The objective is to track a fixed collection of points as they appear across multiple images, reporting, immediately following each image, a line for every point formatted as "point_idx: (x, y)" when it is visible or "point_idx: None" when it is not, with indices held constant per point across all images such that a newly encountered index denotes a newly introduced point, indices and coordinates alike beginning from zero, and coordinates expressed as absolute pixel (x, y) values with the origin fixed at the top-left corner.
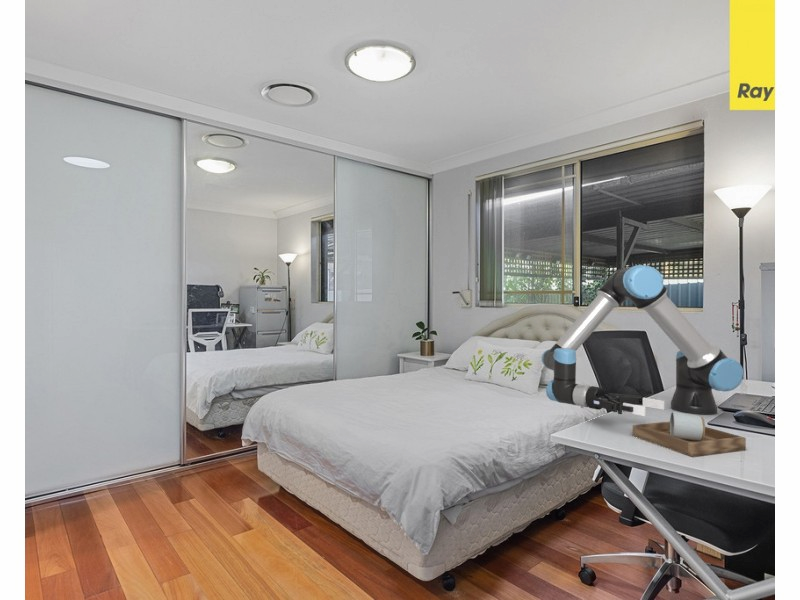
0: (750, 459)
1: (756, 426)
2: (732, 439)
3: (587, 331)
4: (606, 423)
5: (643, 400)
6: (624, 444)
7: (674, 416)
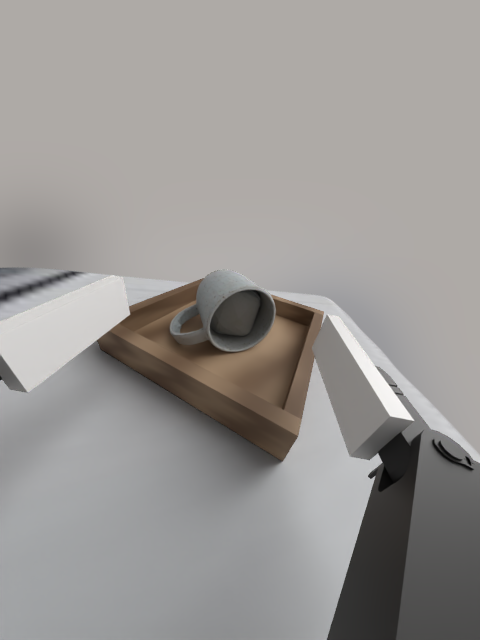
0: None
1: (5, 270)
2: None
3: None
4: None
5: (12, 353)
6: None
7: (269, 293)
